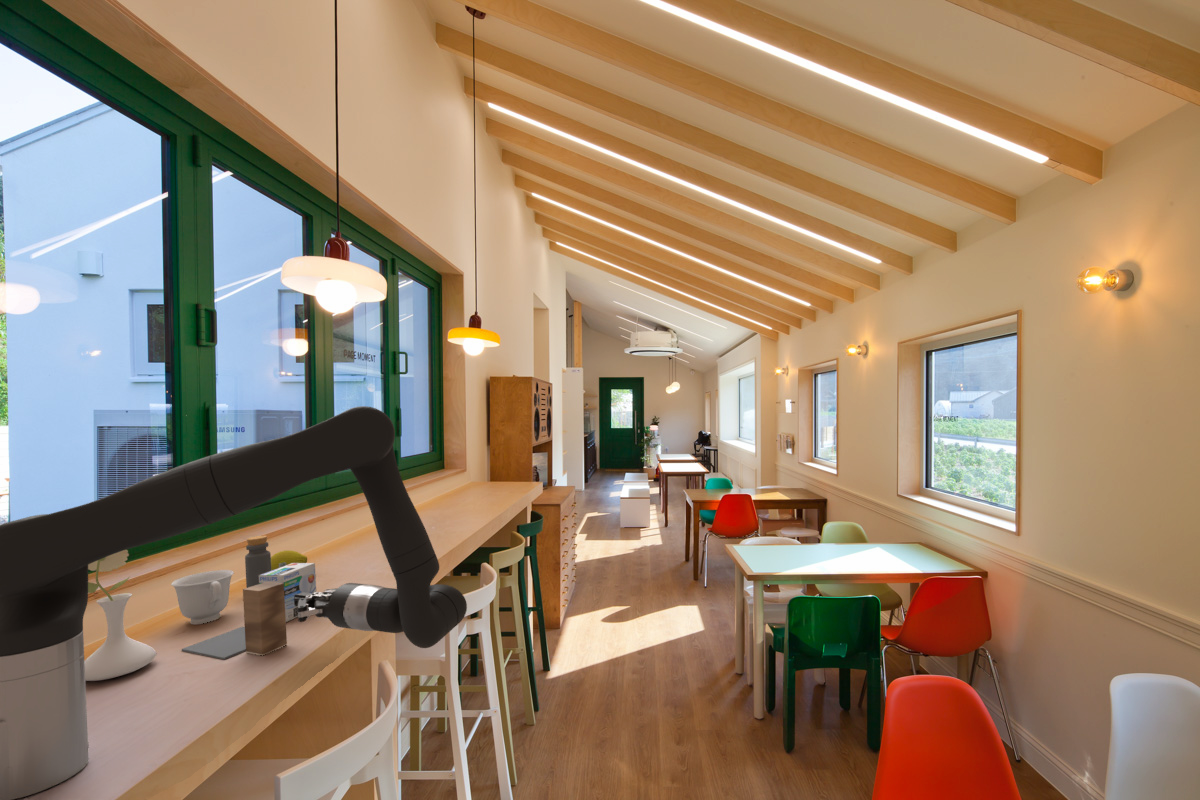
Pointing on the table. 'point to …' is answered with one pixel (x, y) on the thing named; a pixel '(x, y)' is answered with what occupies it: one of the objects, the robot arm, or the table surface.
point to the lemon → (286, 559)
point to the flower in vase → (115, 630)
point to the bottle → (256, 559)
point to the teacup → (203, 595)
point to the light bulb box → (292, 583)
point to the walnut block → (264, 618)
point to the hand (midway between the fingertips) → (297, 599)
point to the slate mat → (221, 645)
